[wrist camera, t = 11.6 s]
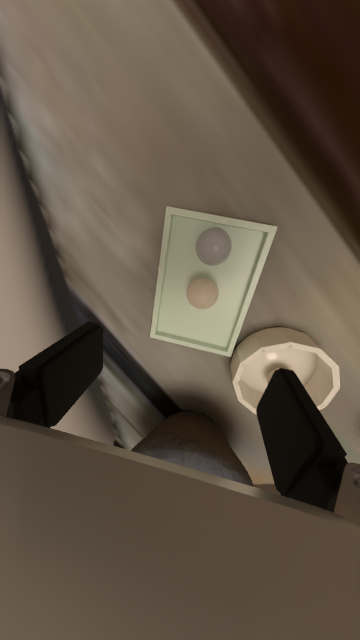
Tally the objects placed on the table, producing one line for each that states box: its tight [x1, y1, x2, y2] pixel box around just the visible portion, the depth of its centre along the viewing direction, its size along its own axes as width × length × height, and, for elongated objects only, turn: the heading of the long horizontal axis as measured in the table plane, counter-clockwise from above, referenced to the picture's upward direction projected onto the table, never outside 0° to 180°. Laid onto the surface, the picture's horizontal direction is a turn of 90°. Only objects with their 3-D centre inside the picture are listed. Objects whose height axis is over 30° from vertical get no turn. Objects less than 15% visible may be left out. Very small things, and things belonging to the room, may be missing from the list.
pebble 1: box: [196, 227, 232, 266], centre depth 21 cm, size 4×4×4 cm
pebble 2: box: [187, 277, 219, 309], centre depth 23 cm, size 4×4×4 cm
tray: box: [150, 206, 277, 357], centre depth 25 cm, size 17×12×2 cm
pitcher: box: [131, 411, 254, 487], centre depth 25 cm, size 21×22×25 cm
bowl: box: [230, 327, 340, 414], centre depth 26 cm, size 12×12×4 cm
